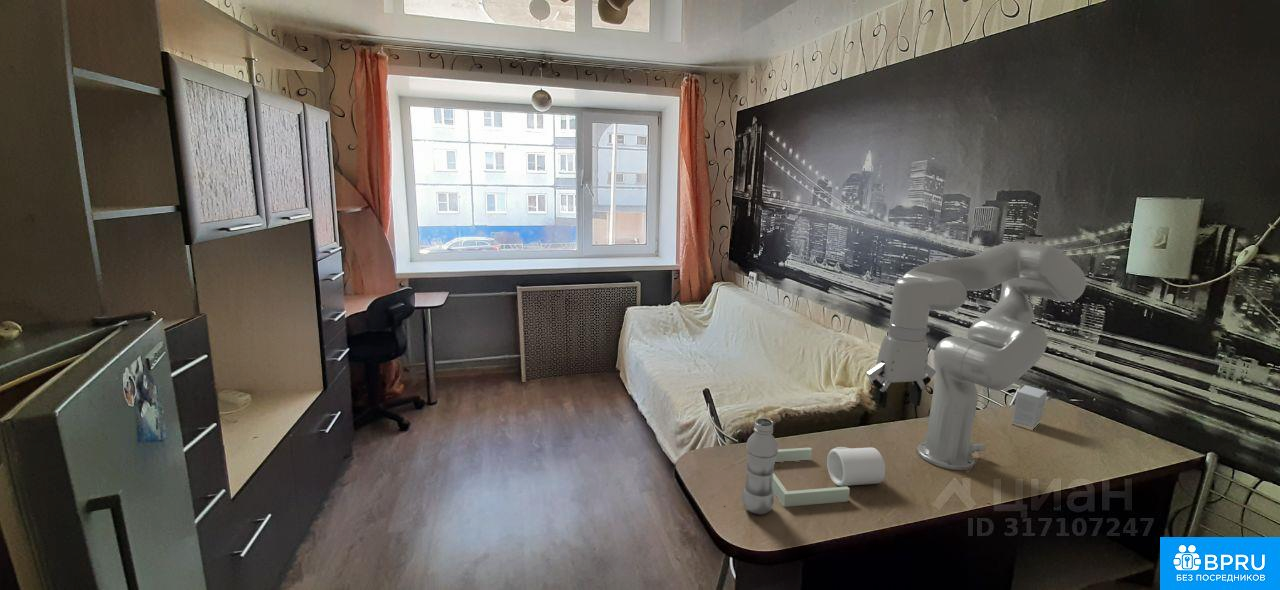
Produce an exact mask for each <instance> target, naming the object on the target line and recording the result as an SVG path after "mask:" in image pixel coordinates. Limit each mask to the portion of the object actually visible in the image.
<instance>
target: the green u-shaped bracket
mask: <svg viewBox="0 0 1280 590" xmlns="http://www.w3.org/2000/svg"><path fill="white" fill-rule="evenodd" d="M812 454H813V448H812V447H799V448H796V447H795V448H780V449H779V448H778V452H777V456H776V460H775V462H779V461H795V462H800V461H799V460H809V461H812V456H813V455H812ZM850 490H851V489H850V487H848V486H837V487H823V488H809V489H799V490H787V489H786V488H785V486H784V484H783V483H782V482H781V480H780V479H779V478H778V476H777V475H776V474H775V473H774V472H773V493H774V496H776V498H777V499H778V501H779V502H780V503H781V504H782V507H784V508H785V507H787V508H788V507H797V506H809V505H820V504H821V505H822V504H832V503H833V504H835V503H845V502H849V499H850V492H851V491H850Z"/></svg>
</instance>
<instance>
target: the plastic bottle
mask: <svg viewBox="0 0 1280 590" xmlns="http://www.w3.org/2000/svg"><path fill="white" fill-rule="evenodd" d="M753 431H754V432H753V433H752V434H751V435H750V436H749V437H748V439H747V441H746V445H745V446H746V447H745V448H746V460H747V463H746V464H747V465H746V467H747V471H746V478H745V479H746V480H745V485H744V488H743V492H742V504H743V506H744V507H745V510H747V511H748V512H749V513H752V514H754V515H765V514H768V513H769V512H770V511H772V509H773V506H774V502H775V494H774V492H773V473H774V471H775V464H776V463H775V460H776V456H777V452H778V450H779V445H778V442H777V440H776V438H775V436H774V435H773V432H774V422H773V421H772V420H770V419H769V418H765V417H763V418H757V419H755V421H754V426H753Z"/></svg>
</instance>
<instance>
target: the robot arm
mask: <svg viewBox="0 0 1280 590" xmlns="http://www.w3.org/2000/svg"><path fill="white" fill-rule="evenodd" d="M1000 284H1001V291H1000V296H999V300H998V302H996V304H995V305H994V306H993V307H991V308H990V309H988V311H986V312H985V313H984V314H983V315H982V316H980V317H979V318H978V319H976V321H974V323H973V324H971V326H970V327H969V328H968V331H967V334H966V335H967V337H963V336H954V335H953V336H948V337H945V338H943V339H941V340H940V341H939V342H938V343H937V345H936V347H935V349H934V354H933V360H934V361H933V362H934V368H932V367H931V366H930V365H929V364H928V360H929V359H928V358H929V347H928V340H927V338H926V336H927V333H930V330H931V328H930V327H929V326H928V321H929V315H930V311H937V312H938V311H939V312H951V311H955V310H957V309H959V308H960V307H961V306H963V304H964V303H965V302H966V301H967V297H968V292H969V291H970V292H971V291H972V292H973V291H975V292H976V291H987V290H990V289H992V288H994V287H996V286H998V285H1000ZM1086 286H1087V279H1086V275H1085V274H1084V271H1083V270H1082V269H1081V267H1080V266H1078V265H1077V264H1076V262H1074V261H1073V259H1071V258H1070V257H1069V256H1068V255H1066V254H1065V253H1064V252H1063V251H1061V250H1060V249H1058V248H1057V247H1055V246H1051V245H1048V244H1047V245H1046V244H1037V243H1031V242H1024V241H1023V242H1021V241H1008V242H1003V243H1000V244H998V245H996V246H994V247H991V248H989V249H987V250H984V251H982V252H979V253H977V254H975V255H971V256H964V257H957V258H950V259H944V260H937V261H932V262H928V263H924V264H922V265H920V266H917V267H914V268H912V269H910V270H909V271H907V272H905V273H904V274H903V275H902V276H901V277H899V278H897V279H896V280H895V283H894V286H893V292H892V293H893V295H892V302H891V309H890V316H889V317H890V318H889V326H888V332H887V333H888V334H887V335H885V336H884V337H883V339H882V341H881V345H880V346H879V347H880V348H879V349H878V350H879V351H878V355H877V359H876V360H877V361H876V365H875V366H873V368H871V369H870V370H868V371H867V372H866V376H867V378H868V380H869V381H870V383H871V384H872V386H873V387H874V388H875V394H874V403H875V404H876V405H877V406H879V407H880V408H881V409H885V408H887V407H886V406H887V400H888V392H887V389H888V387H889V386H890V385H891V384H892V383H907V382H908V383H910V382H912V384H910V387H909V392H908V393H909V394H908V402H910V403H911V404H913V405H915V406H916V407H920V406H921V400H922V395H923V390H926V387H927V385H928V384H929V383H930V382H931V381H932V378H933V377H934V383H933V384H934V386H933V392H932V396H931V397H932V399H931V404H930V411H929V416H928V423H927V429H926V435H925V441H922V442H920V443H918V445H917V448H916V452H917V454H918V456H920V458H922V459H923V460H924V461H926V462H928V463H930V464H932V465H935V466H936V467H939V468H944V469H947V470H953V471H954V470H955V471H965V470H970V469H972V468H973V466H974V464H975V458H974V457H973V456H972V454H974V453H975V452H976V453H977V452H984V451H985V450H986V447H985V445H984V443H974V444H973V441H972V439H971V438H972V433H973V426H974V422H975V417H976V410H977V406H978V400H979V399H978V398H979V396H978V395H979V394H978V390H977V386H976V385H978V386H981V387H984V388H987V389H989V390H993V391H1002V390H1005V389H1007V388H1009V387H1010V386H1012V385H1013V384H1014V383H1016V381H1018V379H1020V378H1021V377H1022V376H1023V375H1025V374H1026V373H1027V372H1028V371H1029V370H1030V369H1031V368H1033V367H1034V366H1035V365H1036V364H1037V363H1038V362H1039V361H1040V359H1041V358H1042V357H1043V356H1044V354H1045V352H1046V350H1047V347H1048V336H1047V335H1048V334H1047V333H1046V331H1045V330H1044V329H1043V328H1041V327H1040V326H1039V325H1037V324H1034V323H1032V322H1033V321H1034V318H1035V314H1034V308H1033V307H1032V304H1031V303H1030V300H1029V296H1031V297H1036V298H1040V299H1046V300H1051V301H1057V302H1061V303H1066V302H1067V303H1068V302H1070V303H1071V302H1073V301H1076V300H1077V299H1079V298H1080V297H1081V296H1083V293H1084V291H1086ZM967 291H968V292H967ZM877 376H878V378H877Z"/></svg>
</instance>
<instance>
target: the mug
mask: <svg viewBox="0 0 1280 590" xmlns="http://www.w3.org/2000/svg"><path fill="white" fill-rule="evenodd" d="M826 463H827V465H826V466H827V470H828V471H827V472H828V474H829V477H830V479H831V481H832V483H834V484H835V485H836V486H837V487H846V486H847V487H848V486H859V485H873V484H880V483H882V482H883V481H884V479H885V476H886V465H885V464H886V463H885V461H884V458H883V456H882V454H881V453H880V451H879V450H878V449H877V448H875V447H872V446H871V447H856V448H854V447H852V448H851V447H850V448H849V447H845V446H837V447H834V448H832V449H830V451H829V452H828V454H827V460H826Z"/></svg>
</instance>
